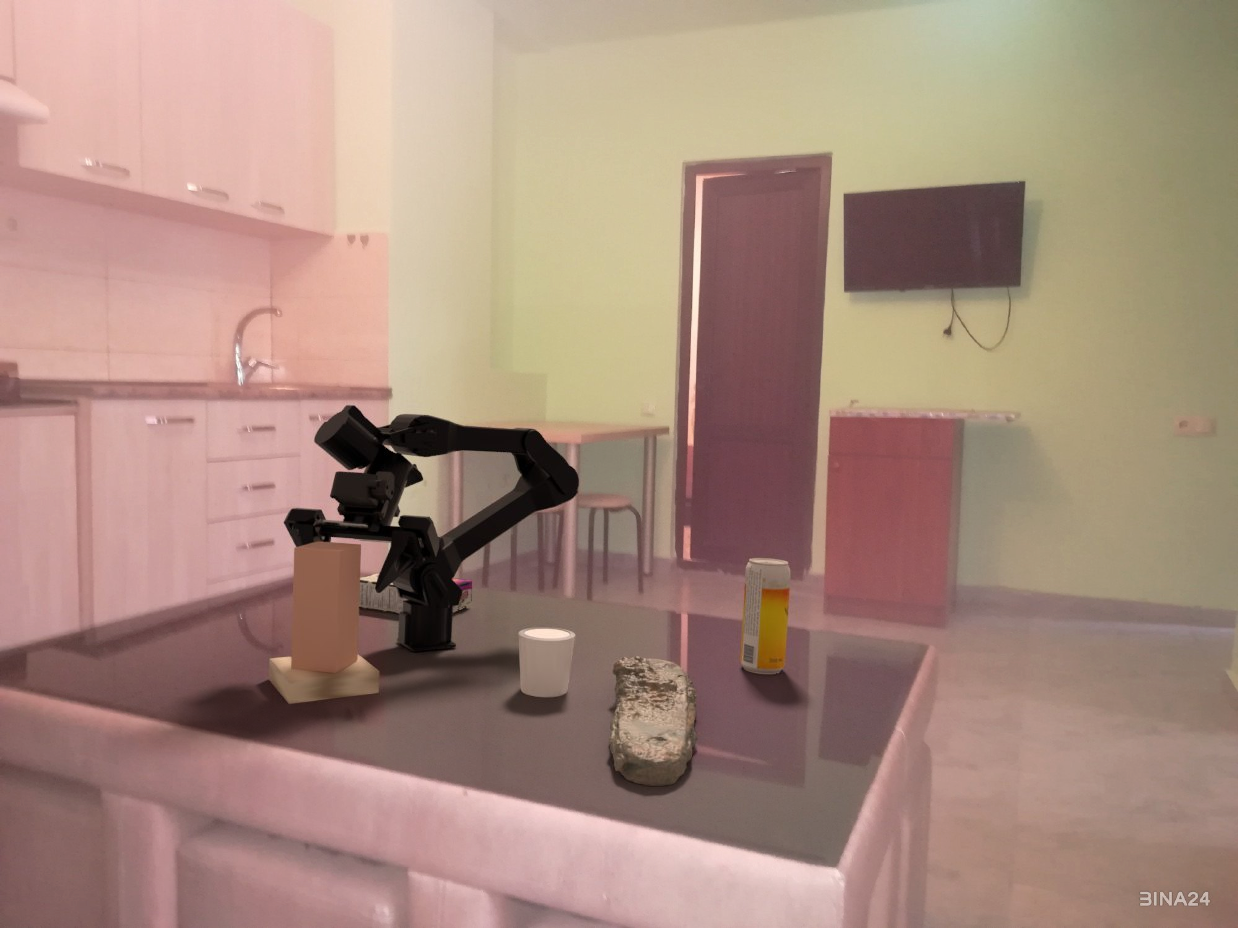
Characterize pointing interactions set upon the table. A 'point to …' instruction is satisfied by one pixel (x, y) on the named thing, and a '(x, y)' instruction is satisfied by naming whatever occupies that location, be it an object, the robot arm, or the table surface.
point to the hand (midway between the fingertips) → (340, 588)
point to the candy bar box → (391, 599)
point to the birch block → (322, 681)
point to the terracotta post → (325, 606)
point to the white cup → (545, 660)
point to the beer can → (765, 615)
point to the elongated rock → (652, 721)
